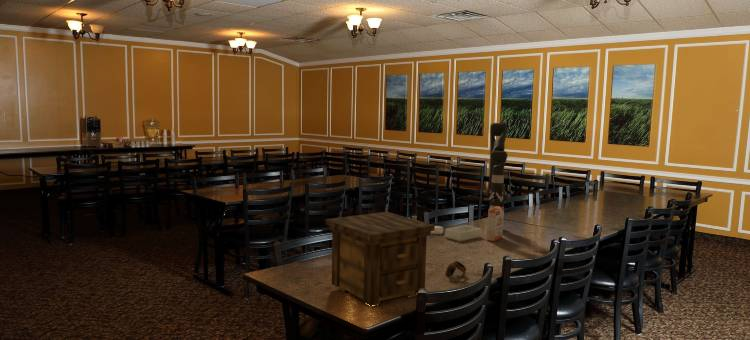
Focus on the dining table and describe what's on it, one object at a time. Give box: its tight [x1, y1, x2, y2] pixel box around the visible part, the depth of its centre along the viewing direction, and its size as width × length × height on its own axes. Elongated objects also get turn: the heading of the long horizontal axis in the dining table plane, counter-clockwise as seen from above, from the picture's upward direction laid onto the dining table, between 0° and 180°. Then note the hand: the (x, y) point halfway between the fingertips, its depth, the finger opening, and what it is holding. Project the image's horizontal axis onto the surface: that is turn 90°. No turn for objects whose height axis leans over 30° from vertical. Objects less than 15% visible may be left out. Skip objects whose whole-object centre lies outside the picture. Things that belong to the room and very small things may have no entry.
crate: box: [324, 211, 436, 306], centre depth 237 cm, size 35×35×33 cm
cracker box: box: [486, 206, 505, 242], centre depth 342 cm, size 14×6×21 cm, turn 145°
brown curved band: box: [444, 260, 467, 278], centre depth 265 cm, size 12×10×8 cm
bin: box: [444, 224, 482, 242], centre depth 345 cm, size 13×21×6 cm, turn 129°
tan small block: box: [431, 225, 444, 235], centre depth 357 cm, size 8×8×4 cm
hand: (496, 206), depth 340 cm, fingers open, 8 cm apart
